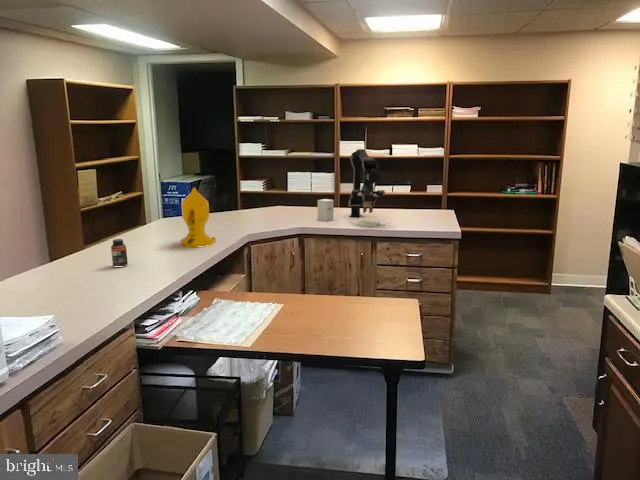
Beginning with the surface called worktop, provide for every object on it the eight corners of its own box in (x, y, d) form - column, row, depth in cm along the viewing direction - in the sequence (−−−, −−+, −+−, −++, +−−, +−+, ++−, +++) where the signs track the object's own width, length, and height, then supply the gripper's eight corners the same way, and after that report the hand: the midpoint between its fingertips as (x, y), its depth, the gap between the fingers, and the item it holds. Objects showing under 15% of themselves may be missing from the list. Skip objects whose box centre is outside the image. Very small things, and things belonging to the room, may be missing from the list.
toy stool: (364, 211, 309) (365, 201, 307) (373, 211, 307) (373, 201, 306) (362, 212, 304) (362, 202, 303) (371, 213, 302) (371, 203, 301)
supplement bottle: (123, 263, 223) (120, 237, 221) (130, 265, 220) (128, 239, 217) (110, 266, 219) (107, 240, 216) (117, 268, 215) (115, 242, 213)
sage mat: (360, 221, 315) (360, 220, 314) (379, 223, 311) (379, 221, 311) (355, 225, 304) (355, 223, 303) (375, 226, 300) (375, 225, 300)
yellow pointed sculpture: (204, 237, 274) (202, 184, 268) (224, 245, 255) (222, 188, 248) (172, 241, 264) (168, 186, 258) (190, 250, 245) (187, 191, 239)
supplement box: (326, 221, 316) (326, 201, 313) (317, 220, 320) (317, 200, 317) (333, 219, 321) (333, 199, 319) (324, 218, 326) (324, 198, 323)
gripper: (349, 181, 297) (348, 208, 300) (381, 182, 291) (380, 210, 295) (354, 179, 307) (354, 205, 311) (385, 180, 301) (384, 207, 305)
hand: (368, 207), depth 305 cm, fingers closed on toy stool, 5 cm apart
